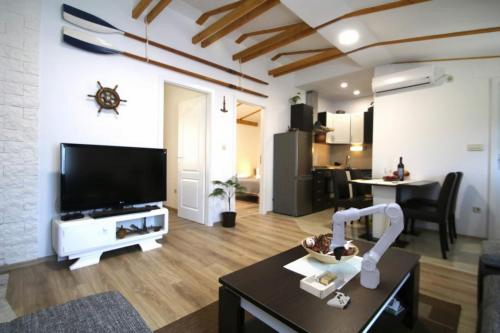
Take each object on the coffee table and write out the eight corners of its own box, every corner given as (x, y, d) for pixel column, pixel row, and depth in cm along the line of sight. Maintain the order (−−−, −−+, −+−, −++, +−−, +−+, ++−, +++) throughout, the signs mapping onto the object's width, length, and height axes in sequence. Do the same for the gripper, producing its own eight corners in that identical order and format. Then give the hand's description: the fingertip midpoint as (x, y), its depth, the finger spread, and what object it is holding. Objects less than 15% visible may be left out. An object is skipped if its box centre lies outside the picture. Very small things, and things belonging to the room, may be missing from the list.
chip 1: (325, 280, 119) (325, 275, 119) (332, 283, 116) (332, 278, 116) (321, 282, 116) (321, 277, 116) (328, 286, 113) (328, 281, 113)
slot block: (325, 275, 126) (325, 269, 126) (346, 284, 117) (346, 278, 117) (313, 281, 119) (313, 275, 119) (335, 292, 110) (335, 285, 110)
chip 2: (330, 277, 122) (330, 272, 122) (337, 280, 119) (337, 275, 118) (325, 279, 119) (325, 275, 119) (333, 283, 116) (333, 278, 116)
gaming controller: (333, 292, 108) (345, 285, 105) (343, 305, 105) (355, 299, 102) (324, 304, 99) (336, 297, 96) (334, 318, 96) (347, 312, 93)
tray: (313, 282, 119) (313, 273, 119) (334, 292, 110) (335, 283, 109) (300, 289, 112) (300, 280, 111) (321, 301, 102) (322, 291, 102)
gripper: (338, 230, 130) (337, 254, 130) (324, 235, 121) (323, 261, 121) (350, 233, 125) (350, 258, 125) (336, 239, 115) (336, 265, 116)
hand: (338, 259), depth 123 cm, fingers closed
